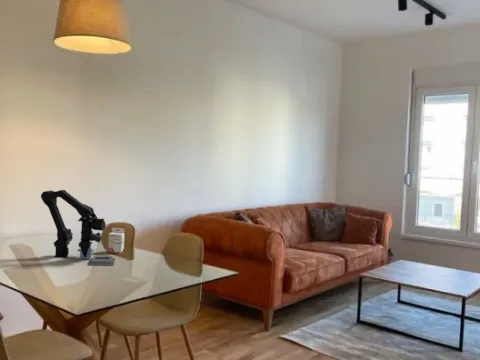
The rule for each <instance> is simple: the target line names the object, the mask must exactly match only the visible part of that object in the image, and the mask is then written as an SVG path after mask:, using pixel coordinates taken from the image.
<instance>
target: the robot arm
mask: <svg viewBox="0 0 480 360" xmlns="http://www.w3.org/2000/svg"><path fill="white" fill-rule="evenodd" d="M40 198H41V200H42V202H43V203H44V205H45V206H46V207H48V211H49V213H50V216H51V218H52V220H53V223H54V226H55V228H56V238H57V239H56V240H55V241H54V242H53V246H54V247H55V255H54V258H67V257H68V256H69V252H70V249H69V245H70V243H71V242H72V240H73V235H74V234H73V233H72V230H71V228H67V226H66V225H65V222H64V220H63V219H64V218H63V217H62V215H61V212H60V209H59V207H58V205H57V204H58V203H57V202H58V198H60V199H62V200H63V201H65V202H66V203H67V204H68V205H70V206H71V207H72V208H73V209H75V210H76V212H77V213H78V215H79V216H80V218H79V219H77V221H78V222H81V228H80V229H81V231H80V236H81V237H80V241H79V242H78V247H79V249H81V250H82V253H83V255H84V257H86V256H87V252H88V248H89V247H91V248H92V244H93V242H96V243H97V244H98V243H101V240H102V237H103V236H102V235H101V233H100V232H97V233H94V231H102V232H103V231H105V229H106V222H105V218H98V217H97V215H96V213H95V210H94V208H93V207H91V206H89V205H87V204H84V203H82V202H81V201H79V200H78V199H77V198H75V196H73V195H71V194H70V193H69V192H67V190H65V189H59V190H56V191H55V190H50V189H49V190H45V191H43V192H42V193H41V195H40Z"/></svg>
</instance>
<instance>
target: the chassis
mask: <svg viewBox="0 0 480 360" xmlns="http://www.w3.org/2000/svg"><path fill="white" fill-rule="evenodd" d="M115 260H116V258H115V257H113V256H112V255H111V256H109V255H108V256H107V255H105V256H104V255H102V256H101V255H100V256H98V255H96V256H95V255H94V256H93V257H91V259H89V262H88V266H114V265H115V262H116V261H115ZM114 261H115V262H114Z"/></svg>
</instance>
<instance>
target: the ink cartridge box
mask: <svg viewBox="0 0 480 360" xmlns="http://www.w3.org/2000/svg"><path fill="white" fill-rule="evenodd" d="M107 242H108V243H107V245H108V246H107V247H108V248H107V253H113V254H118V253H117V252H120V253H119V254H122V253H123V252H122V251H123V249H124V250H125V228H124V227H123V228H120V227H111V232H109V233H108V241H107ZM121 252H122V253H121Z"/></svg>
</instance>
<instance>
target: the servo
mask: <svg viewBox="0 0 480 360" xmlns="http://www.w3.org/2000/svg"><path fill="white" fill-rule="evenodd" d="M77 252H79V259H80V260H91V258H93V257H92V253H93V252H95V248H92V246H91V247H89V248H88V252H87V256H86V257H84V255H83V253H82V250H81V248H77Z"/></svg>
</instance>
